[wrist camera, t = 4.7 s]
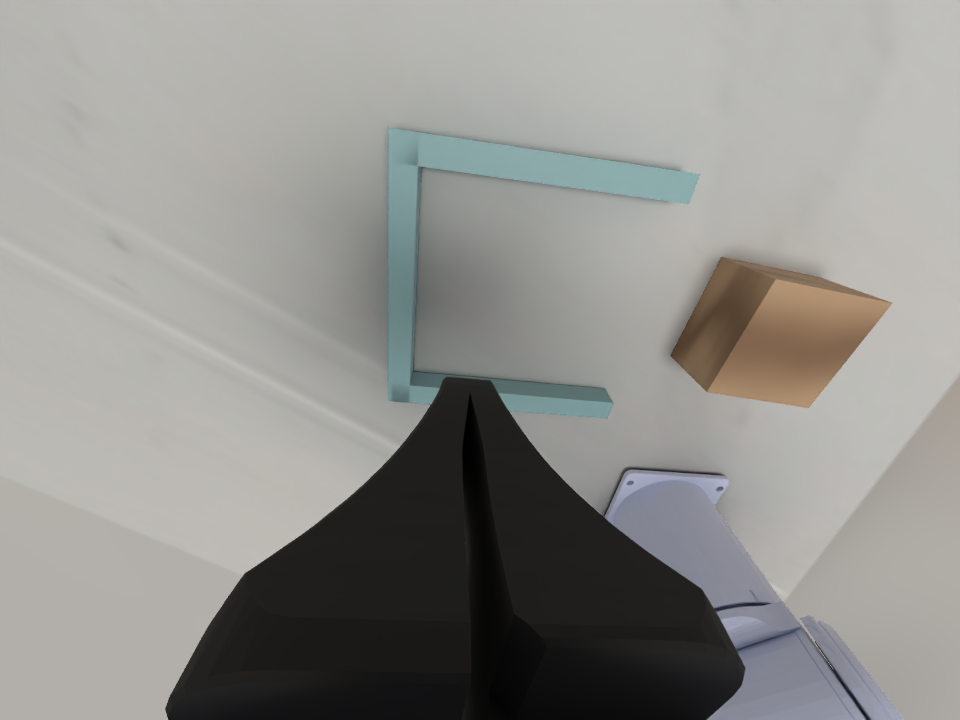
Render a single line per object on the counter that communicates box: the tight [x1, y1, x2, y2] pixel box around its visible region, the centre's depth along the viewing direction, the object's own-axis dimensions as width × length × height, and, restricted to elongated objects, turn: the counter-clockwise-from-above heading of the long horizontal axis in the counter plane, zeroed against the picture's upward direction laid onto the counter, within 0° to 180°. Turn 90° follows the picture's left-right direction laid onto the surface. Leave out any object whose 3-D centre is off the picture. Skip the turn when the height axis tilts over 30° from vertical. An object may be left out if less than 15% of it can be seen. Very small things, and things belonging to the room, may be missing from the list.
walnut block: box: [671, 257, 892, 408], centre depth 19 cm, size 6×6×4 cm
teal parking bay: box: [388, 128, 700, 419], centre depth 19 cm, size 13×13×2 cm
